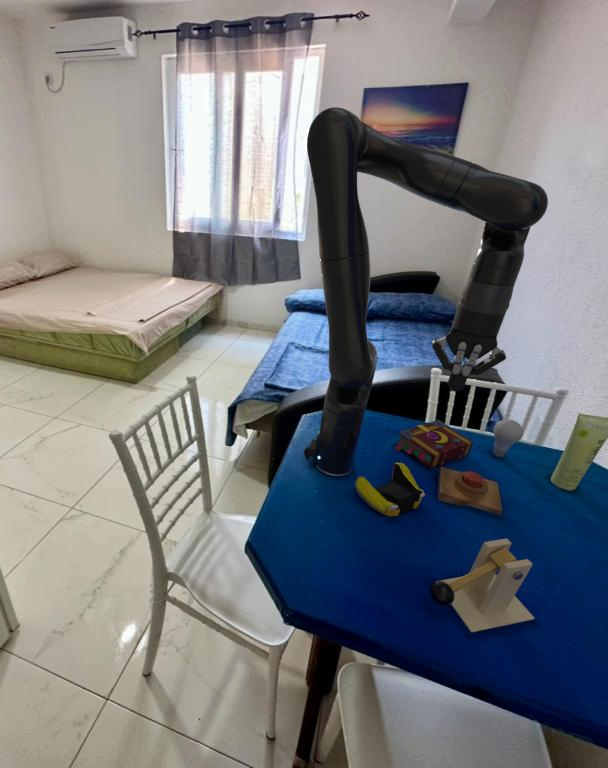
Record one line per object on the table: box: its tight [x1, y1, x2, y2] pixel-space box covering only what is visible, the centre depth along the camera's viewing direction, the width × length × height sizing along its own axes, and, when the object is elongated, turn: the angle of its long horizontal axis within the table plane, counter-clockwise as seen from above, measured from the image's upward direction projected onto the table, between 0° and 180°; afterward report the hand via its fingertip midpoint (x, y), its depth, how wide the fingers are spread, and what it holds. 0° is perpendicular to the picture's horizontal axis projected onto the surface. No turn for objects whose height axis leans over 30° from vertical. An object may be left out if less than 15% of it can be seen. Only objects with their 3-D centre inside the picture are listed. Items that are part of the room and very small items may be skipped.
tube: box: [550, 413, 608, 491], centre depth 93 cm, size 6×5×20 cm
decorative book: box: [394, 419, 474, 469], centre depth 106 cm, size 11×16×5 cm
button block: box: [437, 466, 503, 516], centre depth 92 cm, size 12×10×4 cm
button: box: [463, 471, 484, 488], centre depth 91 cm, size 4×4×2 cm
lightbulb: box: [492, 418, 524, 458], centre depth 104 cm, size 6×6×11 cm
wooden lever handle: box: [429, 547, 518, 607], centre depth 65 cm, size 14×4×4 cm
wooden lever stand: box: [435, 538, 535, 633], centre depth 67 cm, size 12×9×13 cm
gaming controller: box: [354, 462, 426, 517], centre depth 90 cm, size 15×6×10 cm
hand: (453, 389), depth 81 cm, fingers closed
